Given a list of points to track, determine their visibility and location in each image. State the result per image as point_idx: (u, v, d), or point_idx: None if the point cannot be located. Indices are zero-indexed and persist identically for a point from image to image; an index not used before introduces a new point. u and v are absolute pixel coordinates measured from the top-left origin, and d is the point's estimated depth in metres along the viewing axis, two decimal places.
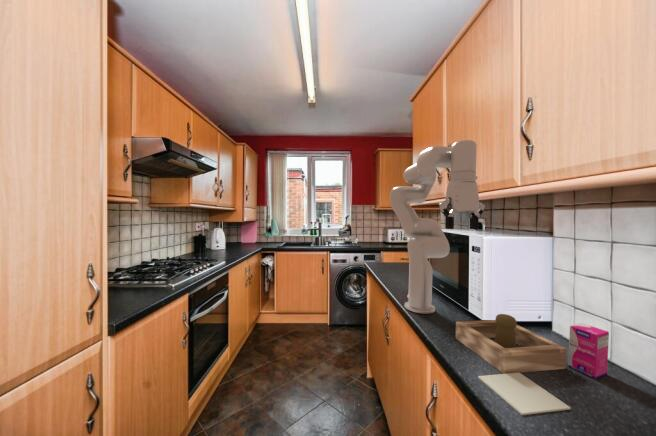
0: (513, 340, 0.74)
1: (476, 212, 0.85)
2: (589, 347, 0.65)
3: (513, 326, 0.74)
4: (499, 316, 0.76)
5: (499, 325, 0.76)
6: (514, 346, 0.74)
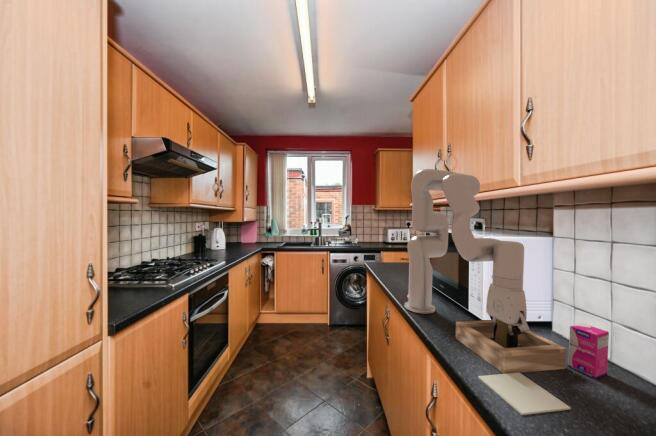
0: None
1: None
2: (589, 347, 0.65)
3: (513, 326, 0.74)
4: None
5: (499, 325, 0.76)
6: None
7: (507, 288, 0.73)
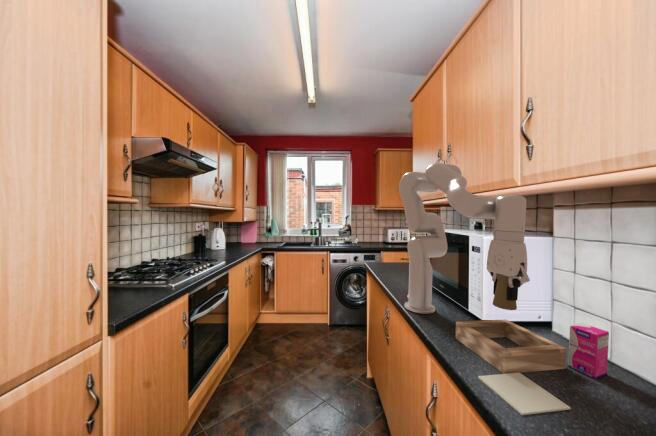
0: None
1: None
2: (589, 347, 0.65)
3: (513, 279, 0.74)
4: None
5: (499, 279, 0.76)
6: None
7: (508, 241, 0.73)
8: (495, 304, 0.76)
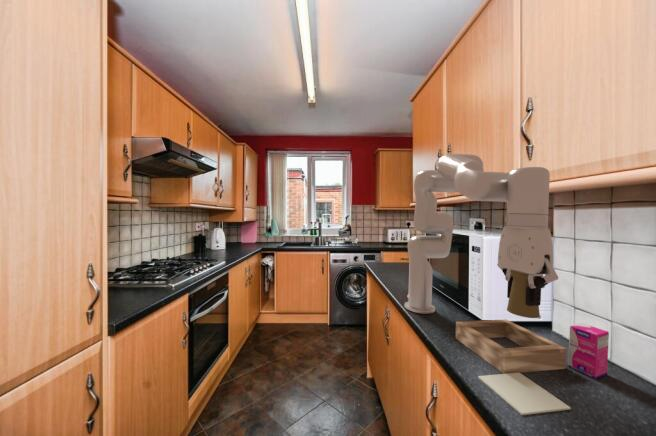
0: None
1: None
2: (589, 347, 0.65)
3: (535, 277, 0.56)
4: None
5: (516, 277, 0.58)
6: None
7: (527, 226, 0.55)
8: (511, 310, 0.58)
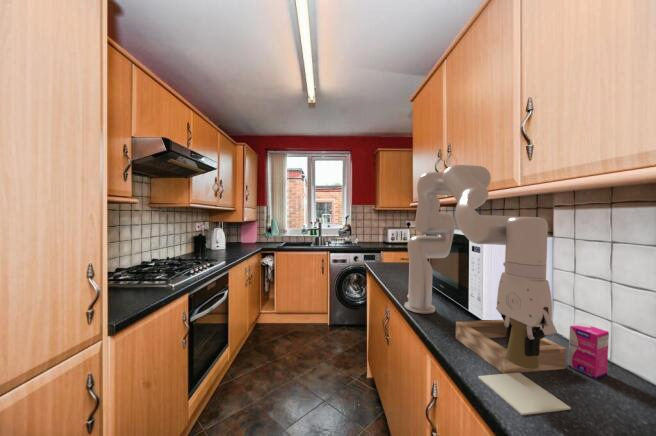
0: None
1: None
2: (589, 347, 0.65)
3: None
4: None
5: (514, 326, 0.58)
6: None
7: (526, 277, 0.55)
8: (510, 359, 0.58)
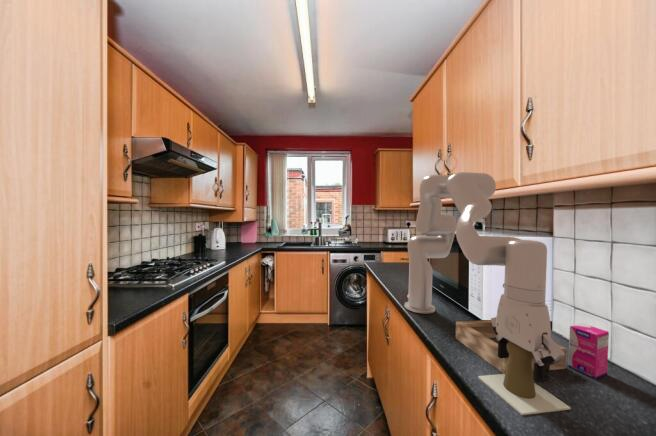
0: (530, 375, 0.57)
1: None
2: (589, 347, 0.65)
3: (530, 357, 0.56)
4: (512, 343, 0.59)
5: (512, 355, 0.59)
6: (532, 383, 0.57)
7: (525, 302, 0.55)
8: (507, 387, 0.59)
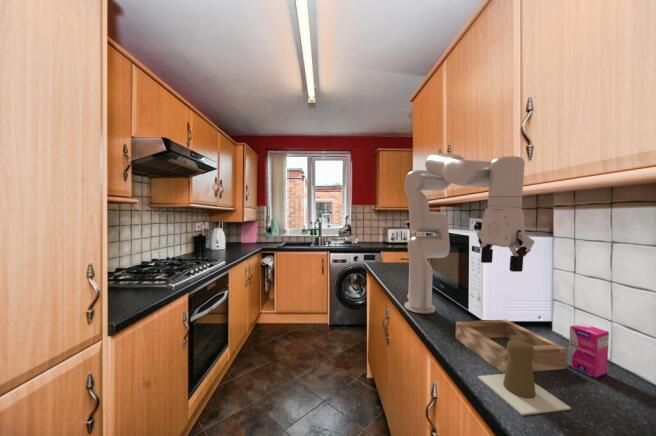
0: (530, 375, 0.57)
1: None
2: (589, 347, 0.65)
3: (530, 357, 0.56)
4: (511, 343, 0.59)
5: (512, 355, 0.59)
6: (532, 383, 0.57)
7: (504, 207, 0.65)
8: (507, 387, 0.59)
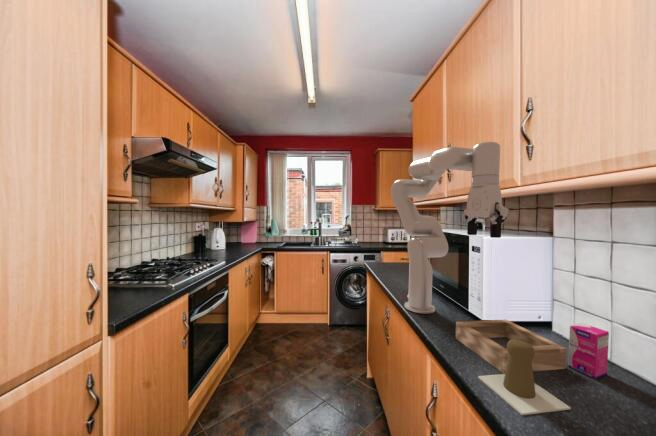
0: (530, 375, 0.57)
1: None
2: (589, 347, 0.65)
3: (530, 357, 0.56)
4: (512, 343, 0.59)
5: (512, 355, 0.59)
6: (532, 383, 0.57)
7: (484, 184, 0.78)
8: (507, 387, 0.59)
